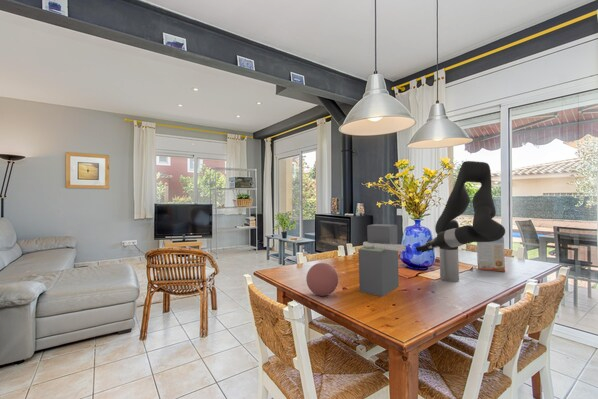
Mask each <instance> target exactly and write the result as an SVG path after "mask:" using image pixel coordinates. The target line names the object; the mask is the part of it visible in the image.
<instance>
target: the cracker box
mask: <svg viewBox="0 0 598 399" xmlns="http://www.w3.org/2000/svg"><path fill="white" fill-rule="evenodd" d="M476 256H477V257H476V258H477V259H476V260H477V261H476V262H477V270H480V271H491V272H494V271H495V272H504V273H505V272H506V263H505V262H506V260H505V259H506V258H505V237H504V236H503V237H502V238H501V239H499V240H497V241H493V242H476Z"/></svg>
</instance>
